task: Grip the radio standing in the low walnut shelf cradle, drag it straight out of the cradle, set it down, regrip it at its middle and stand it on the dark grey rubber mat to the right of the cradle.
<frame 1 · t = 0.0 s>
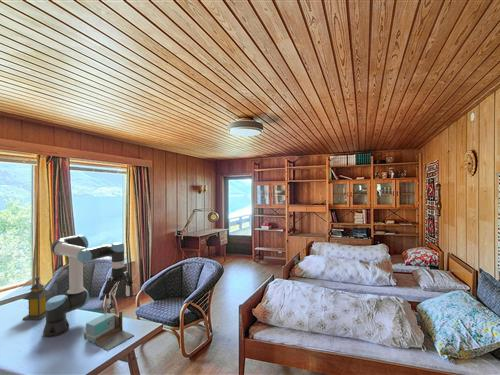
hand: (118, 299, 181), 28 cm above the table, fingers open, 13 cm apart
shelf cradle: (103, 334, 191), on the table
rubber mat: (115, 340, 183), on the table
lantern: (38, 315, 216), on the table
radio: (101, 336, 188), resting in shelf cradle
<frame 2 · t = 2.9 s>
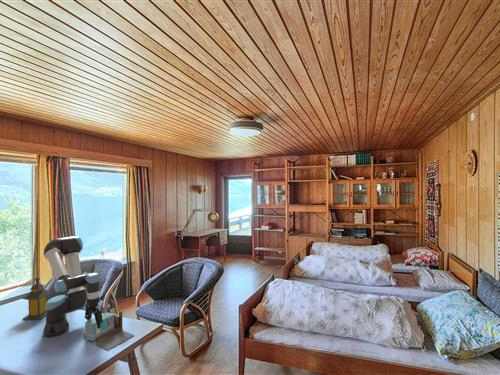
hand: (93, 331, 184), 6 cm above the table, fingers closed on radio, 8 cm apart
radio: (101, 336, 188), resting in shelf cradle, touching gripper
everything else where it was.
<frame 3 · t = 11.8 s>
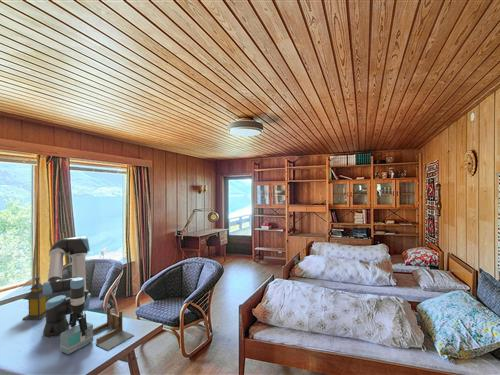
hand: (78, 338, 176), 5 cm above the table, fingers closed on radio, 9 cm apart
radio: (77, 347, 176), on the table, touching gripper
everything else where it was.
when the fingers open (7 cm above the table, at t = 17.6 s): radio stays where it is, resting on rubber mat.
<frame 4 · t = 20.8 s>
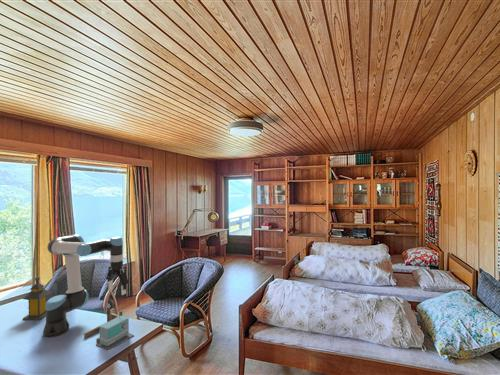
hand: (117, 292, 186), 31 cm above the table, fingers open, 13 cm apart
radio: (115, 340, 183), resting on rubber mat
everything else where it was.
at the end: radio 0.4 cm from the rubber mat (horizontally); radio tilted 0°; the gripper is holding nothing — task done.
